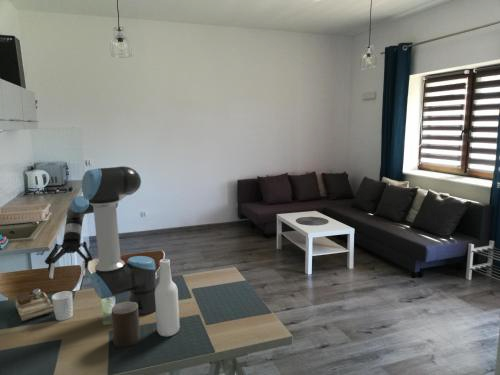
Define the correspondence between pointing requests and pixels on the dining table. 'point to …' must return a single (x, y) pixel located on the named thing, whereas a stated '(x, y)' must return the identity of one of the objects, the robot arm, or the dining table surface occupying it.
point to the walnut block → (24, 298)
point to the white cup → (63, 305)
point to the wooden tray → (34, 307)
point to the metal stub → (37, 294)
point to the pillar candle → (125, 324)
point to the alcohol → (166, 302)
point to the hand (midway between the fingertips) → (67, 276)
